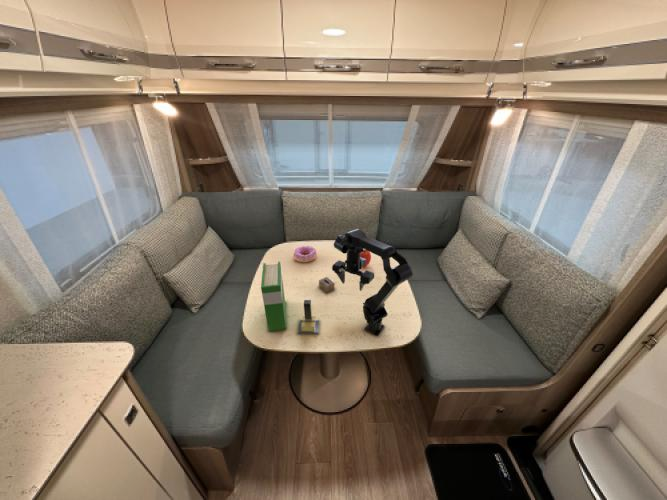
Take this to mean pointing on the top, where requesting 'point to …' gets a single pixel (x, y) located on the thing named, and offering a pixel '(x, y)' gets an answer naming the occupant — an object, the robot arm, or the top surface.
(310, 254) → the donut
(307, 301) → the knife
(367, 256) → the apple
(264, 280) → the hardback book
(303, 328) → the butter dish
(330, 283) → the brown rectangular block
